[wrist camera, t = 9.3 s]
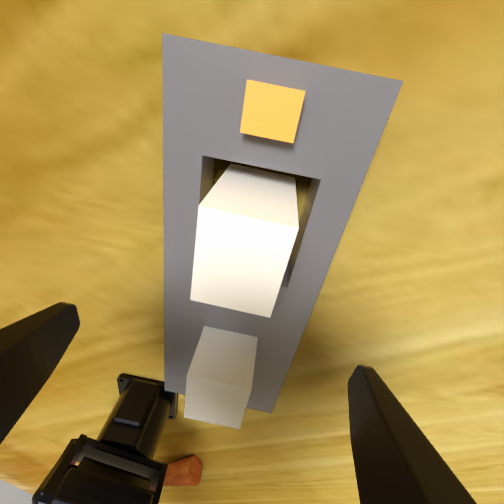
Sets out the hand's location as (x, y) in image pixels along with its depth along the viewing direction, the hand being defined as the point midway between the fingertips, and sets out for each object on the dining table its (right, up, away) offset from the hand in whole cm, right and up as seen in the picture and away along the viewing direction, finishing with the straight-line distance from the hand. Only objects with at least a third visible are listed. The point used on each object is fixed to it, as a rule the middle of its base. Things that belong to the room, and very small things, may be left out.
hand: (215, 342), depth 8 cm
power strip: (+1, +1, +12) cm, 12 cm away
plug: (+1, +6, +9) cm, 11 cm away
